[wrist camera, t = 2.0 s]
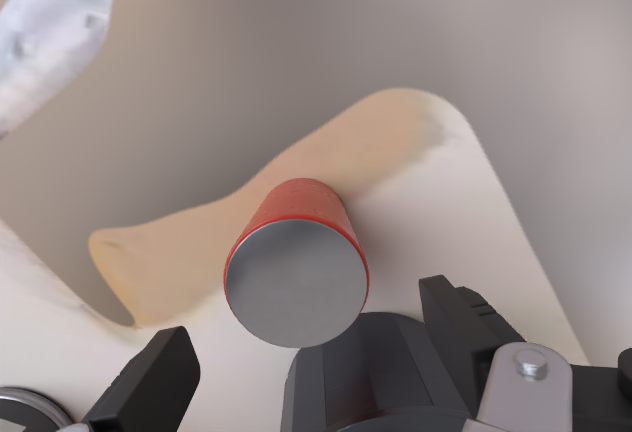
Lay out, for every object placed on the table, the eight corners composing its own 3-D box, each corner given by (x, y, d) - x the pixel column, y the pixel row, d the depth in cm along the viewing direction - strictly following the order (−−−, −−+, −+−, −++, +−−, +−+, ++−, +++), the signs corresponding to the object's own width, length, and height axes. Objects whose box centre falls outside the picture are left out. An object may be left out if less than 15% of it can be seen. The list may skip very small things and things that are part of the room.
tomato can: (260, 260, 23) (224, 350, 14) (258, 176, 22) (218, 213, 12) (343, 261, 23) (365, 352, 14) (348, 179, 22) (376, 217, 12)
